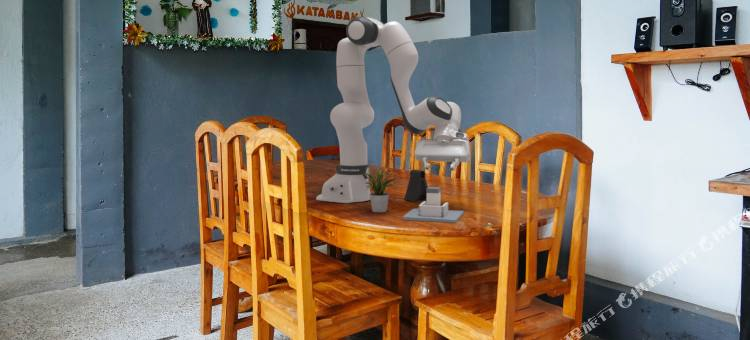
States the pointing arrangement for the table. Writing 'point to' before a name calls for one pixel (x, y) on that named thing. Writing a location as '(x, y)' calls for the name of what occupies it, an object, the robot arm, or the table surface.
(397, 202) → the table surface
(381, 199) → the house plant
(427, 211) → the dock board
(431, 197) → the cable plug
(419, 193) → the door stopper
